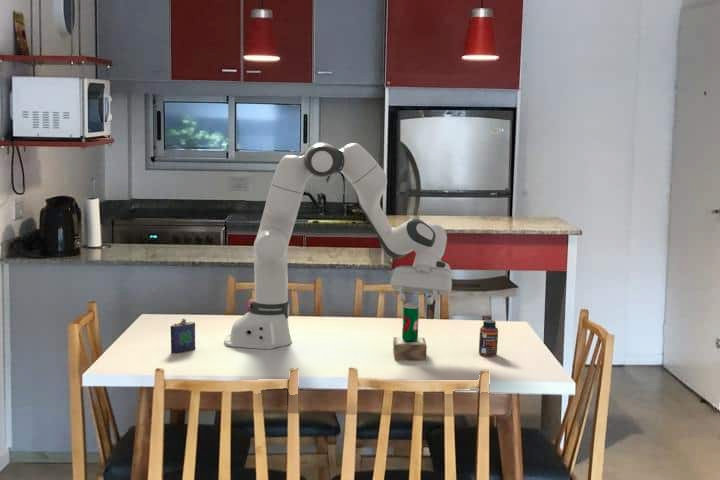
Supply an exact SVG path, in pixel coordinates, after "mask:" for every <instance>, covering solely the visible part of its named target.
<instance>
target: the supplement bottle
mask: <svg viewBox="0 0 720 480" xmlns="http://www.w3.org/2000/svg"><path fill="white" fill-rule="evenodd" d="M496 325H497V323H496V321H495V320H493V319H484V320H483V321H482V326H481V327H480V328H479V341H478V342H479V343H478V344H479V345H478V354H479V355H480V356H482V357H495V356H497V354H498V338H499V329H498V328H497V326H496Z"/></svg>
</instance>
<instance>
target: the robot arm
mask: <svg viewBox="0 0 720 480" xmlns="http://www.w3.org/2000/svg"><path fill="white" fill-rule="evenodd" d="M337 173H341V174H342V175H343V176H344V177H346V179H347V180H348V181H349V183H350V184H351V185H352V187H353V188H354V190H355V192H356V193H357V197H358V204H359V207H360V209H361V211H362V212H363V215H364V216H365V217H366V219H367V221H368V222H369V225H371V228H372V229H373V231H374V233H375V234H376V236H377V238H378V239H379V241H380V244H381V245H380V246H381V247H382V250H383V252H385V254H387V256H389V257H390V258H393V259H396V260H398V259H402V258H403V257H405V256H406V255H408V254H409V253H411V252H415V257H414V261H413V264H412V265H399V266H396V267H395V269H394V270H393V275H392V277H391V279H390V280H389V281H390V282H389V284H390V287H391V289H392V290H393V291H398V292H399V301H400V302H404V303H406V298H407V297H406V294H405V292H409V293H418V294H428V295H431V296H430V297H429V296H428V297H427V300H426V302H427V303H426V304H427V305H433V303H434V301H435V300H436V299H437V298H438V297H439V295H440V296H446V297H447V296H448V295H450V294H451V291H452V284H453V282H452V277H453V276H452V275H453V274H452V269H451V266H450V265H449V263H446V262H444V261H442V258H443V256H444V254H445V250H446V246H447V241H448V235H447V231H446V229H444V227H442V226H441V225H439V224H436V223H427V222H424V221H423V220H421V219H419V218H411V219H409V220H406V221H405V222H403V223H402V224H400V225H398V226H396V227H395V226H392V224H391V223H390V221H389V219H388V217H387V215H386V214H385V212H384V210H383V209H382V207H381V199H382V196H383V195H384V193H385V192H386V189H387V185H388V178H387V175H386V173H385V171H384V169H383V168H382V167H381V166H380V164H379V163H378V162H377V161H376V160H375V158H374V157H373V156H372V155H371V154H370V153H369V151H367V149H365V148H364V147H363V146H361V144H359V143H356V142H353V143H352V142H351V143H348V144H346V145H344V146H343V147H341V148H339V149H338V148H335V147H334V146H333V145H332V144H330V143H327V142H325V141H319V142H314V143H313V144H311V145H310V146H308V148H307V149H306V150H305V151H304V152H303V153H302V154H301V155H294V154H289V155H288V154H287V155H285V156H282V158H281V159H280V161H279V163H278V164H277V167H276V169H275V172H274V173H273V177H272V180H271V184H270V187H269V189H268V190H269V191H268V193H267V197H266V201H265V205H264V208H263V213H262V216H261V219H260V223H259V224H260V225H259V227H258V232H257V234H256V237H255V240H254V242H253V271H254V272H253V273H254V299H249V300H248V302H247V305H248V306H247V309H248V312H246V313H245V314H243V315H242V316H241V317H240V318H238V319H237V320H235V322H234V323H233V325H232V328H231V331H230V334H229V335H226V336H225V338H224V341H223V343H224V345H225V346H226V347H230V348H231V347H233V348H245V349H246V348H248V349H249V348H250V349H261V350H272V349H274V348H278V347H285V346H288V345H290V344H292V343H293V340H292V338H291V334H290V333H291V332H290V328H289V327H290V326H289V316H290V305H289V304H290V302H289V300H288V291H289V290H288V285H289V283H288V281H289V280H288V279H289V278H288V277H289V276H288V275H289V274H288V270H289V269H288V261H289V260H288V258H289V257H288V251H289V243H290V240H291V237H292V234H293V231H294V226H295V224H296V220H297V218H298V217H297V216H298V213H299V210H300V208H301V207H300V206H301V203H302V199H303V195H304V193H305V188H306V184H307V182H308V180H309V179H310V178H311V177H312V176H315V177H318V178H326V177H330V176H332V175H335V174H337Z"/></svg>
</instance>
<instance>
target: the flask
mask: <svg viewBox="0 0 720 480" xmlns="http://www.w3.org/2000/svg"><path fill="white" fill-rule="evenodd" d="M194 350H196V322H195V321H188V322H187V319H185V318H181V321H180V322H178V323H174V324H172V325H171V326H170V354H173V355H177V354H181V353H186V352H191V351H194Z"/></svg>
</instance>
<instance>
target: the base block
mask: <svg viewBox="0 0 720 480" xmlns="http://www.w3.org/2000/svg"><path fill="white" fill-rule="evenodd" d="M427 351H428V350H427V343H426V339H425V337H419V336H418V339H417V341H415V342H406V341H404V340H403V339H402V336H394V337H393V346H392V354H393V359H394V361H413V362H414V361H419V362H420V361H421V362H426V361H427Z"/></svg>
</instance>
